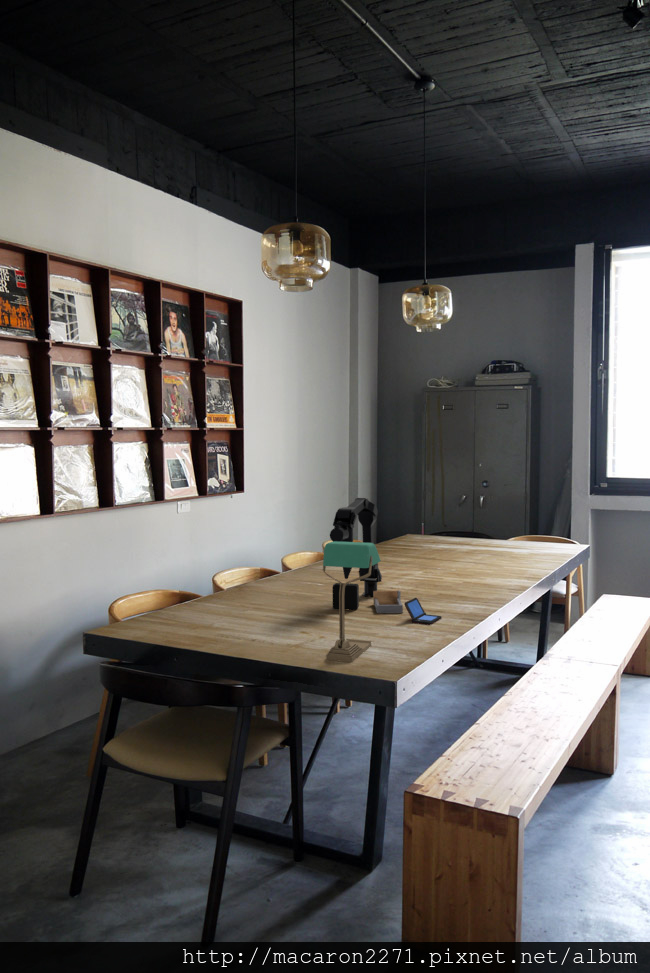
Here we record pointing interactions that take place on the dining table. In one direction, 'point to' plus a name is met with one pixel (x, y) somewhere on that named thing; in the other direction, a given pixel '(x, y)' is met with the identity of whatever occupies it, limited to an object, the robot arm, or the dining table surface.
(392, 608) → the grey shallow open box
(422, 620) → the handheld game console
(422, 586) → the dining table surface
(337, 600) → the electronic device
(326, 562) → the banker's lamp
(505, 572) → the dining table surface
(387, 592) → the rectangular wooden block
